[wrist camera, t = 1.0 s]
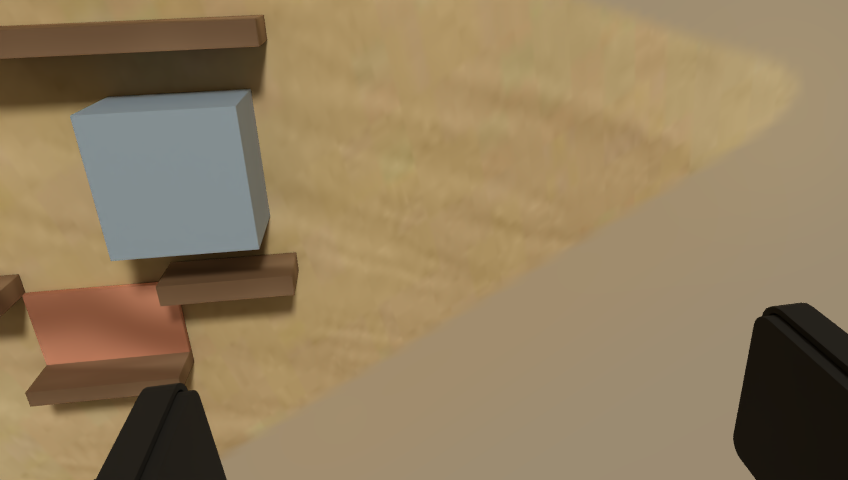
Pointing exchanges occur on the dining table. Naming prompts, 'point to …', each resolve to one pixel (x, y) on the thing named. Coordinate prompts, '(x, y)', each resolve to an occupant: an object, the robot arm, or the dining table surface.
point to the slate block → (175, 172)
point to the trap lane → (146, 302)
